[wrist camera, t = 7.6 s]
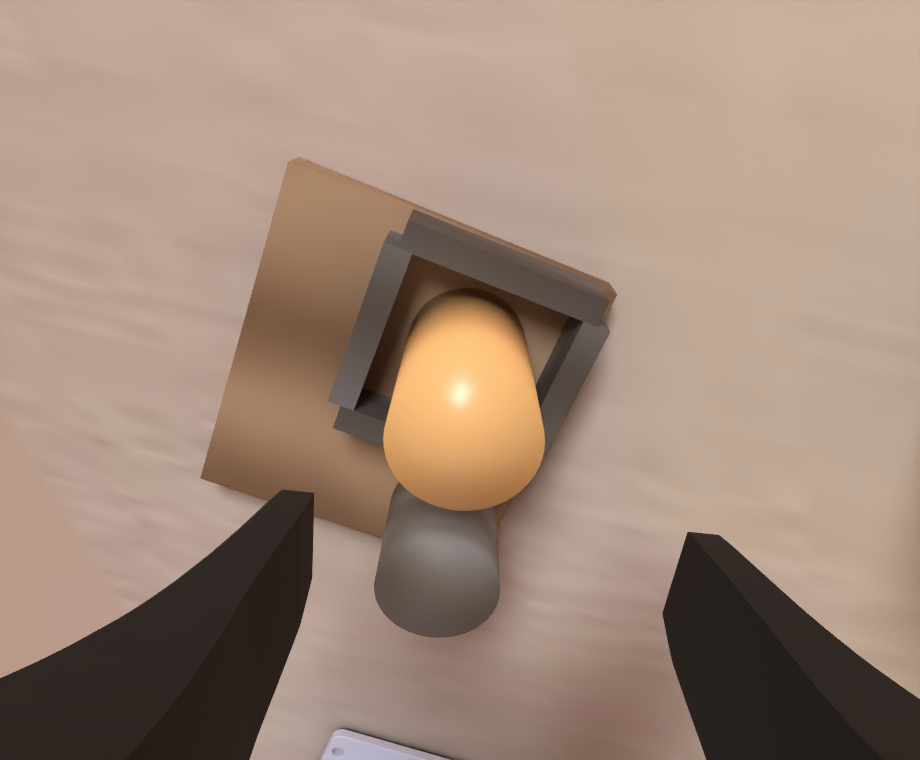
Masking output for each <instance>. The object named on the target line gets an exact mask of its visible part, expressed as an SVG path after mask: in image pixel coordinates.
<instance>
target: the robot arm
mask: <svg viewBox="0 0 920 760" xmlns="http://www.w3.org/2000/svg"><path fill="white" fill-rule="evenodd" d="M313 522H314V493H312V492H302V491H293V490H283V489H282V490H281V491H279V492H278V493H277V494H276V495H275V496H273V497H272V498H271V499H270V500H269V501H268V502H267V503H266V504H265V505H264V506H263V507H262V508H261V509H260V510H259V511H258V512H257V513H256V514H254V515H253V516H252V517H251V518H250V519H249V520H248V521H247V522H246V523H245V524H244V525H243V526H241V527H240V528H239V529H238V530H237V531H236V532H235V533H234V534H232V535H231V536H230V537H229V538H228V539H227V540H225V541H224V542H223V543H222V544H221V545H220V546H219V547H217V548H216V549H215V550H214V551H213V552H212V553H210V554H209V555H208V556H207V557H205V558H204V559H203V560H202V561H200V562H199V563H198V564H196V565H195V566H194V567H193V568H191V569H190V570H189V571H187V572H186V573H185V574H184V575H182V576H181V577H180V578H178V579H177V580H176V581H175V582H173V583H172V584H170V585H169V586H168V587H166V588H165V589H163V590H162V591H161V592H159V593H158V594H156V595H155V596H153V597H152V598H150V599H149V600H147V601H146V602H144V603H143V604H141V605H140V606H138V607H137V608H135V609H133V610H132V611H130V612H129V613H127V614H125V615H124V616H122V617H120V618H119V619H117V620H115V621H113V622H112V623H110V624H108V625H106V626H105V627H103V628H101V629H99V630H97V631H95V632H94V633H92V634H90V635H88V636H87V637H85V638H83V639H81V640H79V641H77V642H75V643H74V644H72V645H70V646H68V647H66V648H64V649H62V650H60V651H58V652H56V653H54V654H52V655H50V656H48V657H46V658H44V659H42V660H40V661H38V662H36V663H33V664H31V665H29V666H27V667H25V668H22V669H20V670H18V671H16V672H13V673H11V674H9V675H7V676H5V677H2V678H0V760H249V759H250V756H251V753H252V750H253V747H254V744H255V742H256V739H257V736H258V733H259V731H260V728H261V725H262V723H263V720H264V718H265V715H266V712H267V710H268V707H269V705H270V702H271V700H272V697H273V694H274V692H275V689H276V687H277V684H278V682H279V679H280V676H281V674H282V671H283V669H284V666H285V664H286V661H287V658H288V656H289V653H290V651H291V648H292V645H293V643H294V640H295V637H296V635H297V632H298V629H299V627H300V623H301V619H302V616H303V612H304V608H305V604H306V600H307V596H308V592H309V588H310V584H311V580H312V560H313ZM663 618H664V623H665V629H666V634H667V639H668V644H669V648H670V653H671V657H672V662H673V665H674V668H675V671H676V674H677V677H678V680H679V683H680V686H681V689H682V692H683V695H684V697H685V700H686V703H687V706H688V709H689V712H690V715H691V717H692V720H693V723H694V726H695V729H696V731H697V734H698V737H699V740H700V743H701V746H702V748H703V751H704V754H705V757H706V760H920V699H919V698H917V697H916V696H914V695H913V694H911V693H910V692H908V691H907V690H906V689H904V688H903V687H901V686H900V685H899V684H897V683H896V682H894V681H893V680H891V679H890V678H889V677H887V676H886V675H884V674H883V673H882V672H880V671H879V670H877V669H876V668H875V667H873V666H872V665H871V664H869V663H868V662H867V661H865V660H864V659H863V658H861V657H860V656H859V655H857V654H856V653H855V652H854V651H852V650H851V649H850V648H849V647H847V646H846V645H845V644H844V643H842V642H841V641H840V640H839V639H837V638H836V637H835V636H834V635H833V634H831V633H830V632H829V631H828V630H826V629H825V628H824V627H823V626H822V625H820V624H819V623H818V622H817V621H816V620H814V619H813V618H812V617H811V616H810V615H809V614H807V613H806V612H805V611H804V610H803V609H802V608H801V607H799V606H798V605H797V604H796V603H795V602H794V601H793V600H791V599H790V598H789V597H788V596H787V595H786V594H785V593H784V592H783V591H781V590H780V589H779V588H778V587H777V586H776V585H775V584H774V583H773V582H771V581H770V580H769V579H768V578H767V577H766V576H765V575H764V574H763V573H762V572H760V571H759V570H758V569H757V568H756V567H755V566H754V565H753V564H752V563H751V562H750V561H748V560H747V559H746V558H745V557H744V556H743V555H742V554H741V553H740V552H738V551H737V550H736V549H735V548H734V547H733V546H732V545H730V544H729V543H728V542H727V541H726V540H724V539H723V538H722V537H721V536H719V535H713V534H703V533H694V532H688V533H687V536H686V539H685V542H684V546H683V549H682V552H681V555H680V558H679V562H678V565H677V568H676V571H675V575H674V578H673V581H672V584H671V587H670V591H669V594H668V597H667V600H666V604H665V607H664V610H663ZM320 760H450V759H447V758H443V757H440V756H436V755H433V754H429V753H426V752H422V751H419V750H415V749H412V748H408V747H405V746H401V745H398V744H394V743H391V742H387V741H384V740H380V739H377V738H373V737H370V736H367V735H363V734H360V733H356V732H353V731H349V730H345V729H339V730H336V731H334V732H333V733H332V735H331V737H330V739H329V741H328V743H327V746H326V748H325V750H324V752H323V754H322V756H321V758H320Z"/></svg>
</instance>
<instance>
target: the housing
mask: <svg viewBox="0 0 920 760" xmlns="http://www.w3.org/2000/svg"><path fill="white" fill-rule="evenodd" d="M460 288H474V289H480V290H484V291H487V292H490V293H492V294H495V295H496V296H498V297H500V298H501V299H503V300H504V301H505V302H507V303H508V304H509V305H510V306H511V307H512V308H513V309H514V311H515V312H516V313H517V315H518V317H519V318H520V320H521V322H522V325H523V328H524V331H525V336H526V341H527V346H528V351H529V356H530V361H531V366H532V371H533V377H534V382H535V387H536V392H537V397H538V402H539V407H540V412H541V417H542V422H543V427H544V434H545V448H544V454H543V458H544V457H545V455H546V453H547V451H548V449H549V447H550V445H551V443H552V441H553V439H554V438H555V436H556V434H557V432H558V430H559V428H560V426H561V424H562V422H563V420H564V419H565V417H566V415H567V413H568V411H569V409H570V407H571V405H572V403H573V401H574V400H575V398H576V396H577V394H578V392H579V390H580V388H581V386H582V384H583V382H584V381H585V379H586V377H587V375H588V373H589V371H590V369H591V367H592V365H593V363H594V362H595V360H596V358H597V356H598V354H599V352H600V350H601V348H602V346H603V345H604V343H605V341H606V339H607V337H608V335H609V333H610V331H609V329H608V327H607V326H606V324H605V322H604V319H605V317H606V315H607V313H608V311H609V309H610V307H611V305H612V303H613V302H614V300H615V298H616V296H617V294H616V292H615V291H614V289H613V288H612V286H611V285H610V283H608V282H605V281H603V280H600V279H598V278H595V277H593V276H591V275H588V274H586V273H583V272H581V271H578V270H576V269H573V268H571V267H568V266H566V265H563V264H561V263H558V262H556V261H554V260H551V259H549V258H546V257H544V256H541V255H539V254H536V253H534V252H531V251H529V250H526V249H524V248H522V247H519V246H517V245H514V244H512V243H509V242H507V241H504V240H502V239H499V238H497V237H494V236H492V235H489V234H487V233H485V232H482V231H480V230H477V229H475V228H472V227H470V226H467V225H465V224H462V223H460V222H457V221H455V220H453V219H450V218H448V217H445V216H443V215H440V214H438V213H435V212H433V211H430V210H428V209H425V208H423V207H421V206H418V205H416V204H413V203H411V202H408V201H406V200H403V199H401V198H398V197H396V196H393V195H391V194H388V193H386V192H384V191H381V190H379V189H376V188H374V187H371V186H369V185H366V184H364V183H361V182H359V181H356V180H354V179H352V178H349V177H347V176H344V175H342V174H339V173H337V172H334V171H332V170H329V169H327V168H324V167H322V166H319V165H317V164H315V163H312V162H310V161H307V160H305V159H302V158H300V157H298V158H296V159H294V160H292V161H289V162H288V165H287V169H286V172H285V176H284V179H283V183H282V187H281V190H280V194H279V197H278V201H277V205H276V208H275V212H274V215H273V219H272V223H271V226H270V230H269V233H268V237H267V241H266V244H265V248H264V251H263V255H262V259H261V262H260V266H259V269H258V273H257V277H256V280H255V284H254V287H253V291H252V295H251V298H250V302H249V305H248V309H247V313H246V316H245V320H244V323H243V327H242V331H241V334H240V338H239V341H238V345H237V349H236V352H235V356H234V359H233V363H232V367H231V370H230V374H229V377H228V381H227V385H226V388H225V392H224V395H223V399H222V403H221V406H220V410H219V413H218V417H217V421H216V424H215V428H214V431H213V435H212V439H211V442H210V446H209V449H208V453H207V457H206V460H205V464H204V467H203V471H202V475H201V479H204V480H207V481H210V482H213V483H216V484H219V485H222V486H225V487H228V488H231V489H234V490H237V491H240V492H243V493H246V494H249V495H252V496H255V497H258V498H261V499H264V500H267V501H269V500H270V499H271V498H272V497H273V496H275V495H276V494H277V493H278V492H279V491H281V490H282V489H283V490H293V491H302V492H312V493H314V516H316V517H319V518H322V519H325V520H328V521H331V522H334V523H337V524H340V525H343V526H346V527H349V528H352V529H355V530H358V531H361V532H364V533H367V534H370V535H373V536H376V537H379V538H382V539H383V542H382V547H381V552H380V557H379V562H378V567H377V572H376V577H375V583H374V591H375V597H376V600H377V603H378V605H379V606H380V608H381V610H382V611H383V613H384V614H385V615H386V616H387V617H388V618H389V619H390V620H391V621H392V622H393V623H395V624H396V625H398V626H399V627H401V628H403V629H405V630H407V631H409V632H412V633H414V634H418V635H422V636H427V637H451V636H456V635H460V634H463V633H466V632H469V631H471V630H473V629H475V628H476V627H478V626H479V625H481V624H482V623H483V622H484V621H486V620H487V619H488V617H489V616H490V615H491V614H492V612H493V611H494V609H495V607H496V605H497V602H498V598H499V591H500V590H499V569H498V549H497V528H496V527H497V525H498V524H499V522H500V520H501V518H502V516H503V514H504V512H505V510H506V508H507V506H508V504H509V502H510V500H511V498H510V499H508V500H507V501H505V502H503V503H500V504H498V505H495V506H492V507H489V508H485V509H480V510H471V511H457V510H450V509H445V508H441V507H437V506H434V505H432V504H429V503H427V502H425V501H423V500H421V499H419V498H418V497H416V496H415V495H413V494H412V493H410V492H409V491H408V490H407V489H406V488H404V486H403V485H402V484H401V483H400V482H399V481H398V480H397V478H396V477H395V475H394V474H393V473H392V471H391V469H390V467H389V465H388V462H387V459H386V456H385V451H384V444H383V435H384V427H385V423H386V420H387V416H388V412H389V408H390V404H391V400H392V396H393V392H394V388H395V384H396V381H397V377H398V373H399V369H400V365H401V361H402V357H403V353H404V349H405V346H406V342H407V338H408V334H409V330H410V326H411V324H412V321H413V319H414V318H415V316H416V314H417V313H418V311H419V310H420V309H421V308H422V307H423V306H424V305H425V304H426V303H427V302H428V301H429V300H431V299H432V298H434V297H435V296H437V295H439V294H441V293H444V292H446V291H449V290H453V289H460ZM543 458H542V460H543ZM541 462H542V461H541Z"/></svg>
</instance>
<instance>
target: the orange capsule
mask: <svg viewBox="0 0 920 760" xmlns="http://www.w3.org/2000/svg"><path fill="white" fill-rule="evenodd" d="M383 444H384V451H385V456H386V459H387V462H388V465H389V467H390V469H391V471H392V473H393V474H394V475H395V477H396V478H397V480H398V481H399V482H400V483H401V484H402V485H403V486H404V488H406V489H407V490H408V491H409V492H410V493H412V494H413V495H415V496H416V497H418V498H419V499H421V500H423V501H425V502H427V503H429V504H432V505H434V506H437V507H441V508H445V509H450V510H457V511H471V510H480V509H485V508H489V507H492V506H495V505H498V504H500V503H503V502H505V501H507V500H508V499H510V498H512V497H513V496H515V495H516V494H518V493H519V492H520V491H521V490H523V489H524V488H525V486H526V485H527V484H528V483H529V482H530V481H531V480H532V478H533V477H534V476H535V474H536V472H537V470H538V468H539V466H540V464H541V461H542V458H543V454H544V448H545V434H544V427H543V422H542V417H541V412H540V407H539V402H538V397H537V392H536V387H535V382H534V377H533V371H532V366H531V361H530V356H529V351H528V346H527V341H526V336H525V331H524V328H523V325H522V322H521V320H520V318H519V317H518V315H517V313H516V312H515V311H514V309H513V308H512V307H511V306H510V305H509V304H508V303H507V302H505V301H504V300H503V299H501V298H500V297H498V296H496V295H495V294H492V293H490V292H487V291H484V290H480V289H474V288H460V289H453V290H449V291H446V292H444V293H441V294H439V295H437V296H435V297H434V298H432V299H431V300H429V301H428V302H427V303H426V304H425V305H424V306H423V307H422V308H421V309H420V310H419V311H418V313H417V314H416V316H415V318H414V319H413V321H412V324H411V326H410V330H409V334H408V338H407V342H406V346H405V349H404V353H403V357H402V361H401V365H400V369H399V373H398V377H397V381H396V384H395V388H394V392H393V396H392V400H391V404H390V408H389V412H388V416H387V420H386V423H385V427H384V435H383Z"/></svg>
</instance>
